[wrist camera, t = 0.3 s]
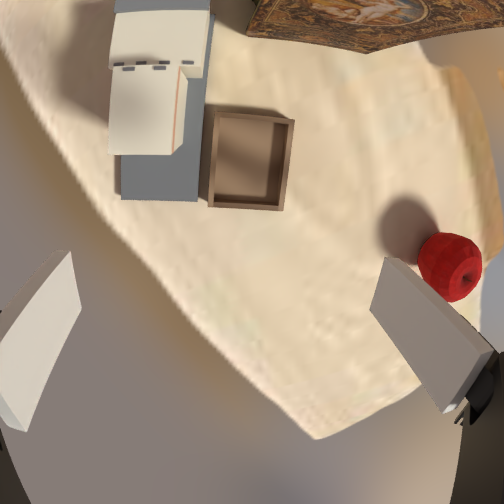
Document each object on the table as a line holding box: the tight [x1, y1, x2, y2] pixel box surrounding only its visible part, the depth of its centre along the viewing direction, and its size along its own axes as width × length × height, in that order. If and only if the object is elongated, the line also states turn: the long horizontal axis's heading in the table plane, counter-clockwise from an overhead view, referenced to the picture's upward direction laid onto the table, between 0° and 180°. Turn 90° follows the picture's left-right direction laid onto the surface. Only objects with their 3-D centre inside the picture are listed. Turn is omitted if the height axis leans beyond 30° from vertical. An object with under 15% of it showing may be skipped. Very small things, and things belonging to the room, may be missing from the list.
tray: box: [208, 112, 295, 211], centre depth 34 cm, size 11×9×2 cm
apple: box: [417, 232, 482, 302], centre depth 39 cm, size 10×10×11 cm
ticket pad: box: [108, 0, 210, 78], centre depth 23 cm, size 7×8×9 cm
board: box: [121, 14, 215, 202], centre depth 30 cm, size 22×9×1 cm, turn 174°
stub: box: [108, 65, 188, 155], centre depth 25 cm, size 7×5×11 cm
